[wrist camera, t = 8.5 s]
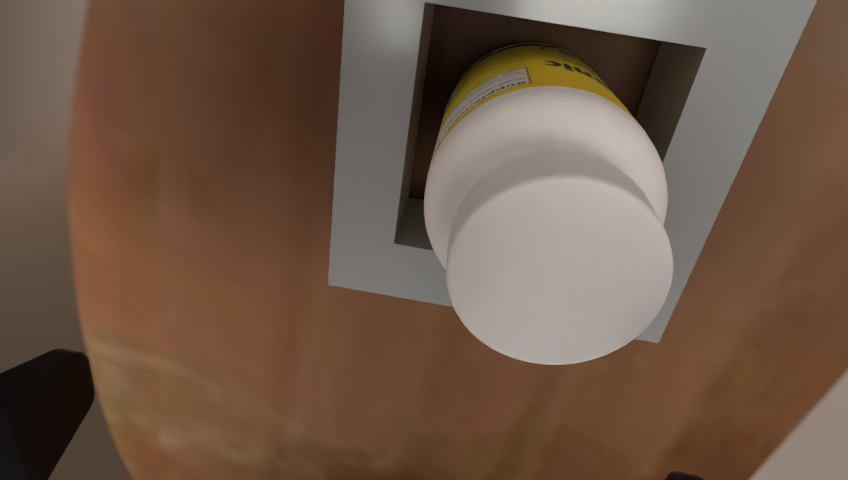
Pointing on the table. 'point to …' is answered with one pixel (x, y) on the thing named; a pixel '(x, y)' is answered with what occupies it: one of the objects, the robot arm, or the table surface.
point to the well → (657, 114)
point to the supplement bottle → (547, 209)
